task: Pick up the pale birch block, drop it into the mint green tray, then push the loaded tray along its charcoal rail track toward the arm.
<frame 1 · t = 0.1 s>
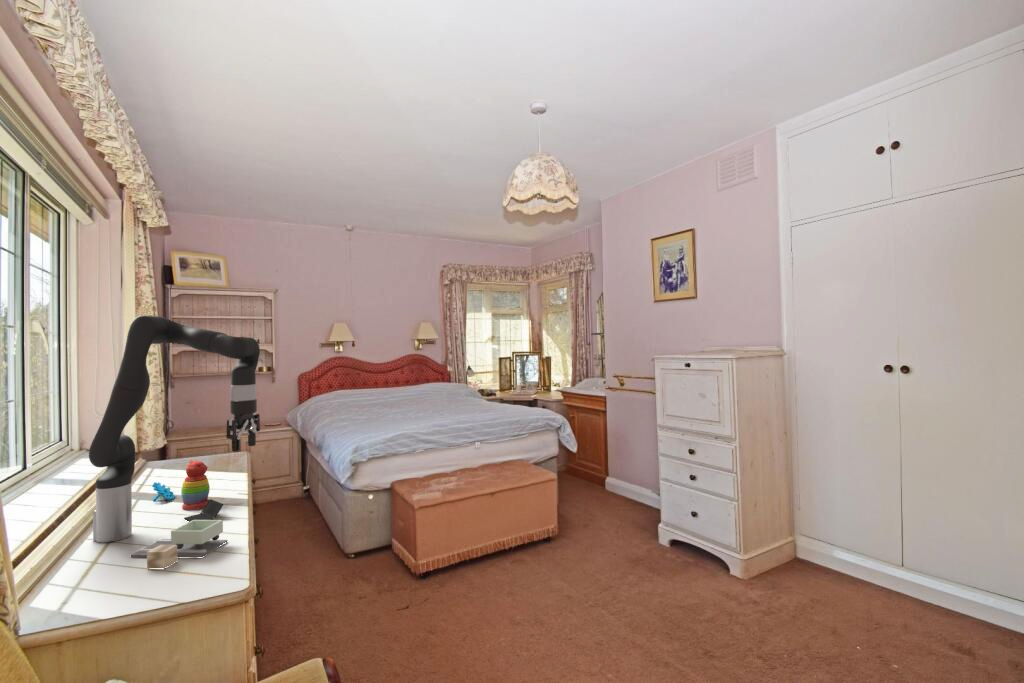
hand: (244, 448, 161), 29 cm above the cabinet, tool pointing down, fingers open, 8 cm apart
stacking bear: (196, 506, 195), on the cabinet
mint green tray: (197, 534, 152), point 5 cm above the cabinet, slide at 0.0 cm
handheld gaming console: (203, 520, 181), on the cabinet
track: (180, 549, 153), on the cabinet
blue bumpy figure: (164, 500, 205), on the cabinet
block: (162, 566, 142), on the cabinet
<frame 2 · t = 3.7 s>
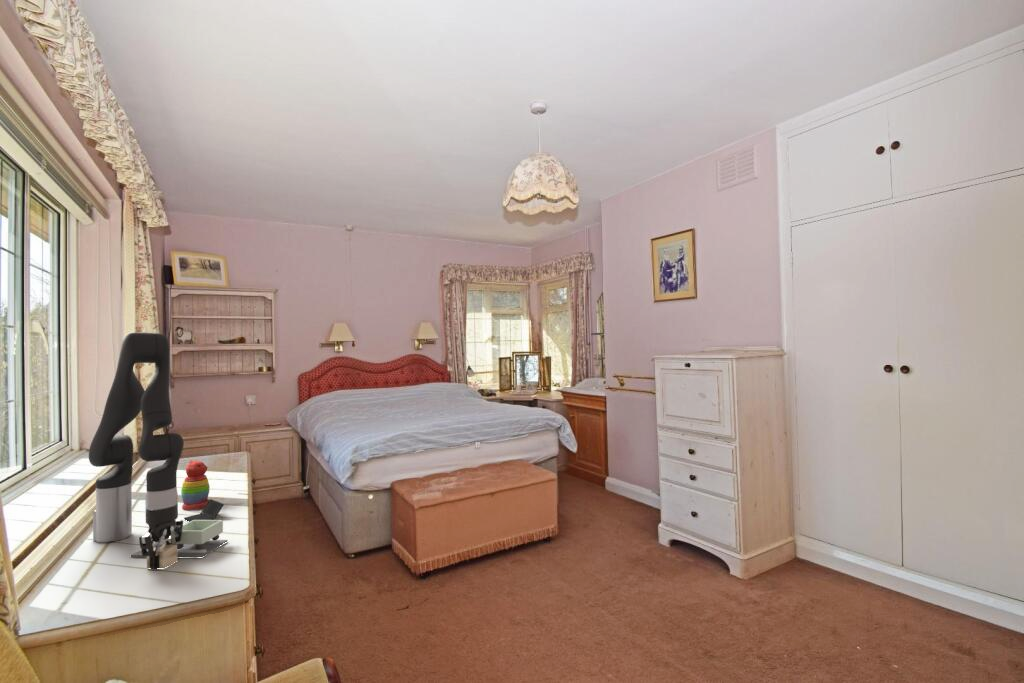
hand: (162, 563, 142), 1 cm above the cabinet, tool pointing down, fingers closed on block, 5 cm apart
block: (162, 565, 142), on the cabinet, touching gripper
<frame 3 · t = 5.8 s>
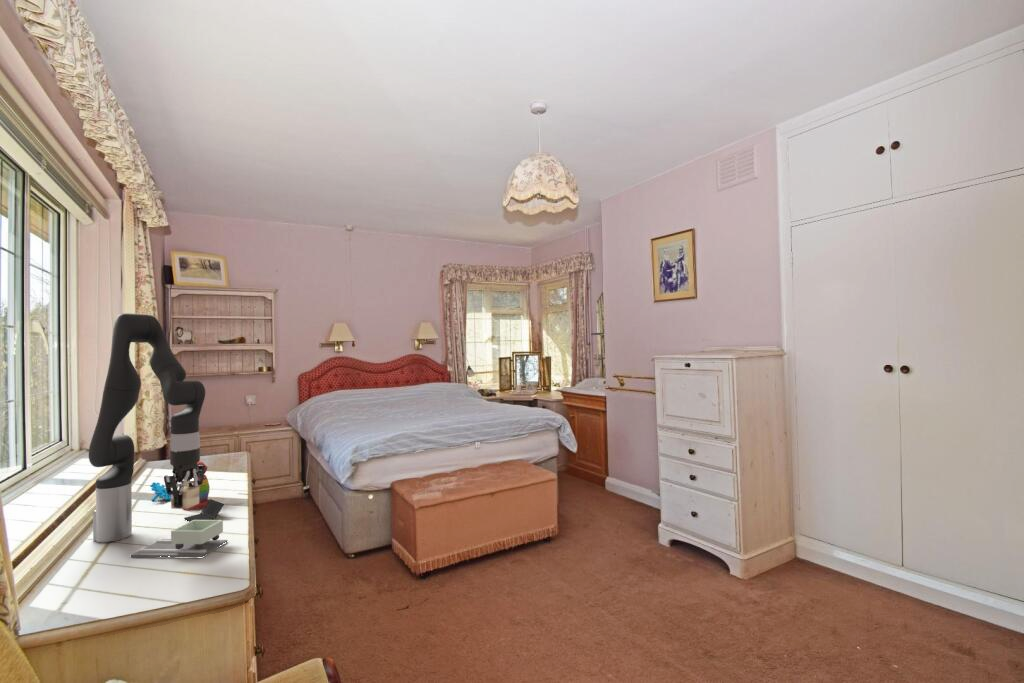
hand: (185, 504, 149), 15 cm above the cabinet, tool pointing down, fingers closed on block, 5 cm apart
block: (185, 505, 149), point 15 cm above the cabinet, touching gripper
everything else where it was.
when the fingers open (7 cm above the cabinet, at t = 8.0 s): block drops 2 cm, resting on mint green tray.
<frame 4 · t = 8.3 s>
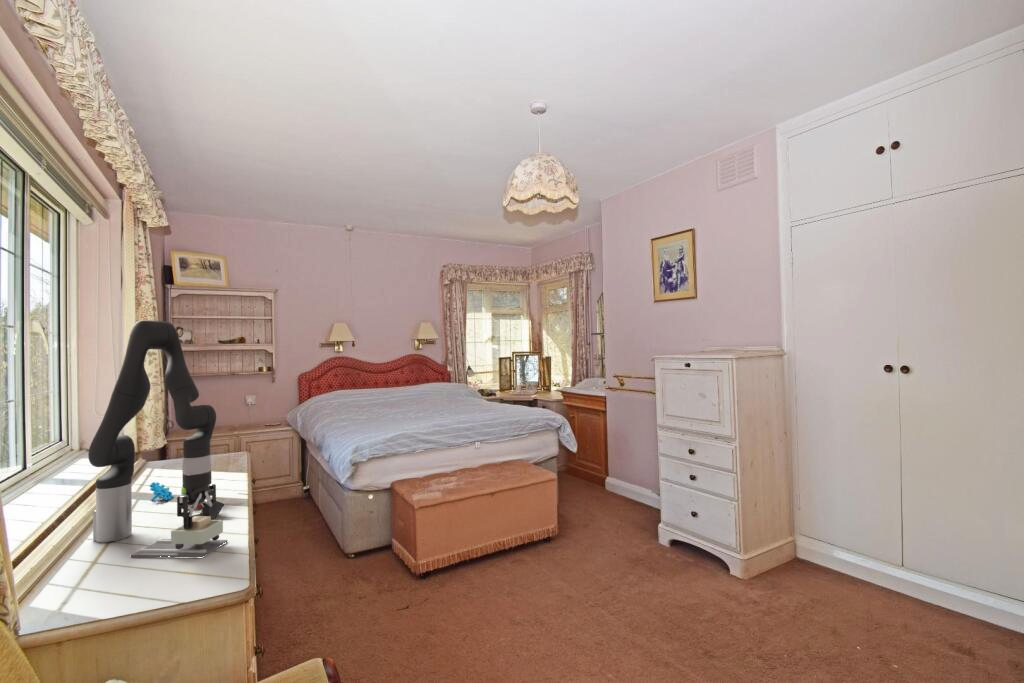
hand: (197, 523, 153), 8 cm above the cabinet, tool pointing down, fingers open, 7 cm apart
mint green tray: (197, 534, 152), point 5 cm above the cabinet, slide at 0.0 cm, touching block
block: (197, 535, 152), point 4 cm above the cabinet, touching mint green tray
everything else where it was.
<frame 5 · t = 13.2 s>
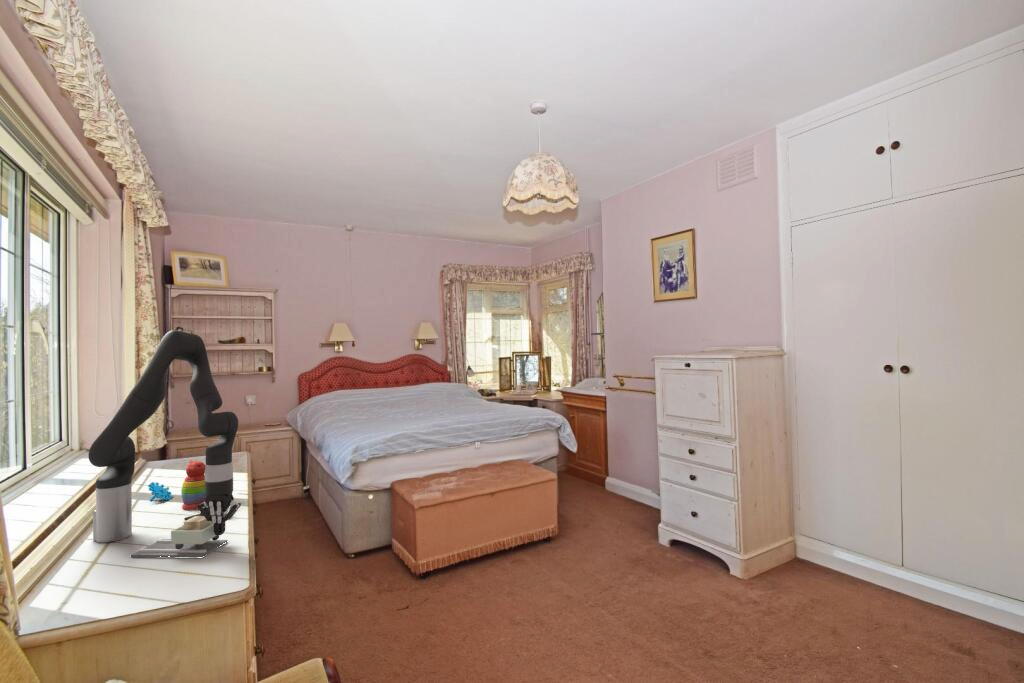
hand: (219, 534, 152), 5 cm above the cabinet, tool pointing down, fingers closed
mint green tray: (197, 534, 152), point 5 cm above the cabinet, slide at 0.0 cm, touching block, gripper
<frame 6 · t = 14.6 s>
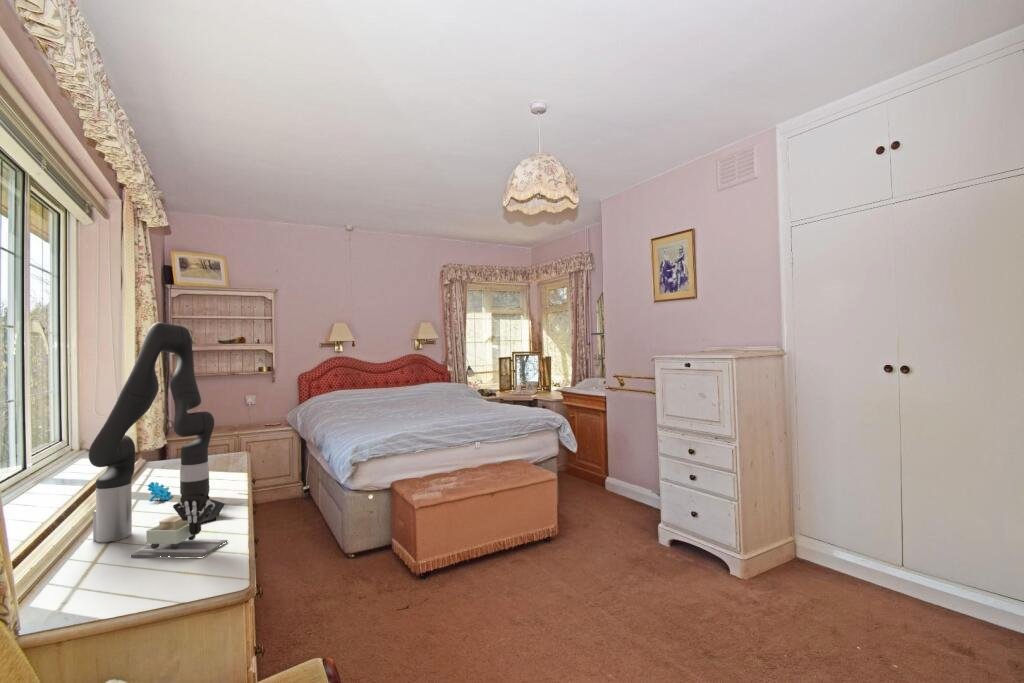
hand: (195, 533, 153), 5 cm above the cabinet, tool pointing down, fingers closed
mint green tray: (173, 534, 153), point 5 cm above the cabinet, slide at 7.8 cm, touching block, gripper
block: (173, 534, 153), point 4 cm above the cabinet, touching mint green tray
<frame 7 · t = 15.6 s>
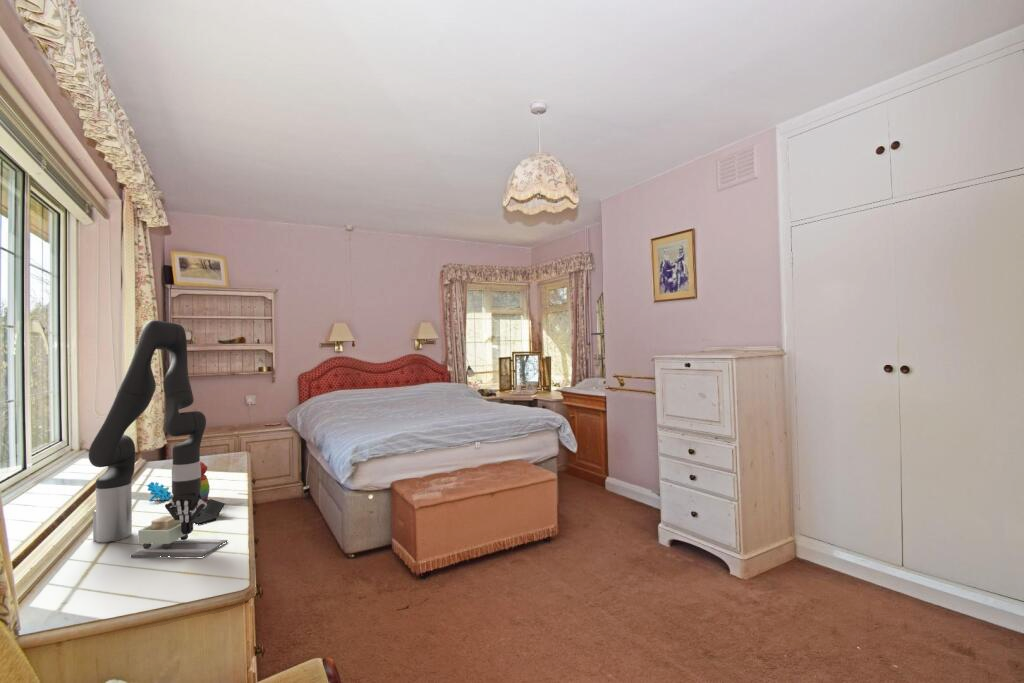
hand: (187, 533, 153), 5 cm above the cabinet, tool pointing down, fingers closed
mint green tray: (165, 534, 153), point 5 cm above the cabinet, slide at 10.3 cm, touching block, gripper
block: (165, 534, 153), point 4 cm above the cabinet, touching mint green tray
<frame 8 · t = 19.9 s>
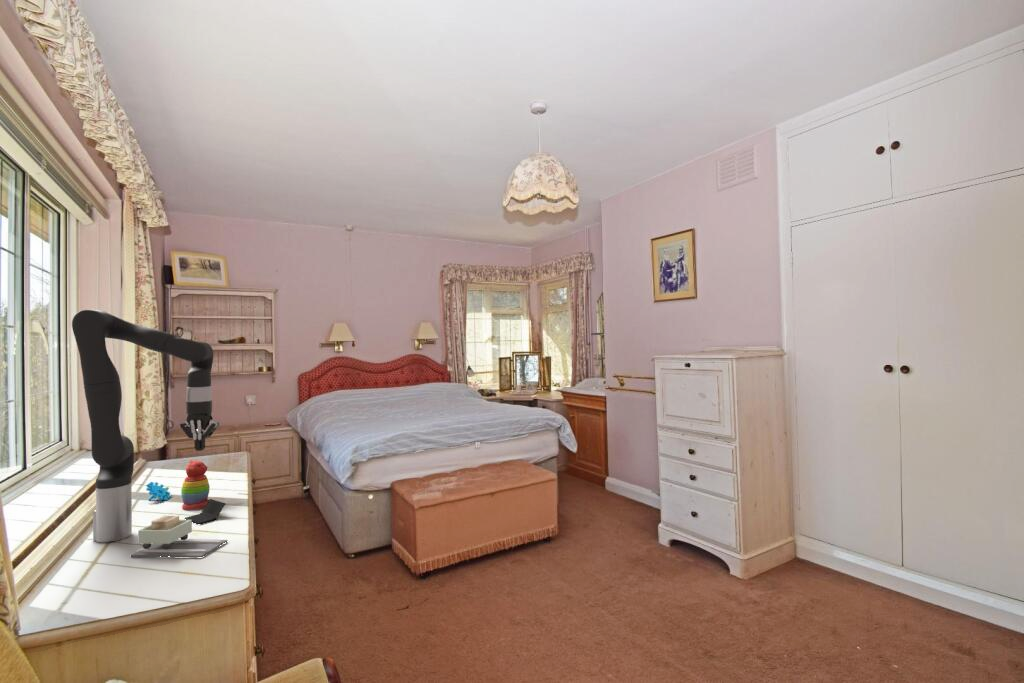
hand: (199, 450, 170), 27 cm above the cabinet, tool pointing down, fingers closed
mint green tray: (165, 534, 153), point 5 cm above the cabinet, slide at 10.3 cm, touching block
at the end: mint green tray slide at 10.3 cm; block inside the target area on the mint green tray (0.0 cm from its centre), point 4.5 cm above the mint green tray's base; the gripper is holding nothing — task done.
